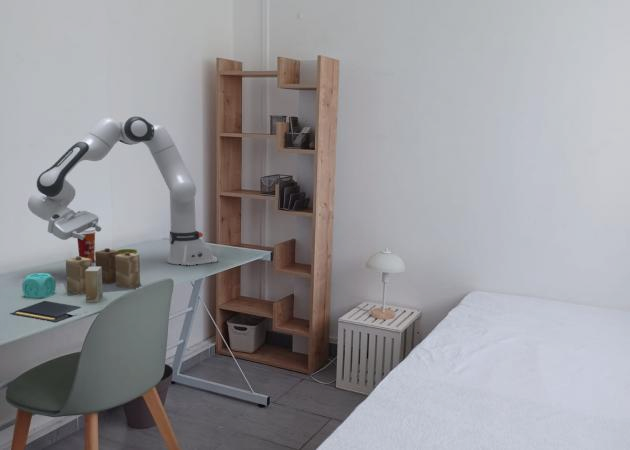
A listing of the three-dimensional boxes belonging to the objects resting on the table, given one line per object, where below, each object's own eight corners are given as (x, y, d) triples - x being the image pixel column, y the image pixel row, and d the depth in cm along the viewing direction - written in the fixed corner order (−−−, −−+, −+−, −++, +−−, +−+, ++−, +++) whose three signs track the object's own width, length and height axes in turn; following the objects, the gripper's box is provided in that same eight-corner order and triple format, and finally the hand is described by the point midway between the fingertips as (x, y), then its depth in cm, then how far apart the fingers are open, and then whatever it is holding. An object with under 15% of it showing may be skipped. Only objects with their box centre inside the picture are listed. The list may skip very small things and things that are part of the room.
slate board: (134, 278, 246) (134, 275, 246) (144, 290, 228) (144, 288, 228) (63, 284, 234) (62, 282, 233) (68, 298, 216) (68, 295, 216)
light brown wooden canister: (80, 288, 226) (79, 254, 224) (92, 290, 223) (91, 256, 221) (67, 291, 221) (65, 257, 218) (79, 294, 218) (77, 259, 215)
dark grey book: (89, 306, 204) (54, 319, 190) (89, 311, 204) (54, 325, 191) (44, 298, 212) (8, 310, 198) (45, 303, 212) (8, 315, 198)
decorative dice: (37, 293, 221) (36, 272, 220) (56, 295, 220) (55, 273, 218) (22, 299, 214) (21, 277, 212) (42, 301, 212) (41, 279, 211)
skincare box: (90, 299, 216) (89, 266, 214) (103, 299, 216) (102, 266, 214) (85, 304, 210) (84, 270, 208) (98, 304, 210) (97, 270, 208)
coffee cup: (90, 264, 266) (89, 231, 263) (73, 263, 267) (71, 230, 265) (100, 260, 274) (99, 228, 271) (84, 259, 275) (82, 226, 273)
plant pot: (128, 275, 250) (128, 254, 249) (109, 272, 254) (109, 252, 252) (142, 270, 259) (142, 250, 258) (124, 267, 262) (123, 248, 261)
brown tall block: (128, 282, 235) (127, 250, 233) (140, 284, 232) (139, 252, 230) (116, 286, 230) (115, 252, 228) (128, 288, 227) (127, 254, 225)
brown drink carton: (108, 278, 240) (107, 246, 238) (119, 280, 238) (119, 248, 235) (96, 281, 235) (95, 249, 233) (107, 284, 232) (106, 251, 230)
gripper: (80, 216, 252) (107, 231, 249) (44, 233, 234) (73, 249, 231) (83, 203, 249) (110, 218, 247) (46, 219, 231) (76, 235, 229)
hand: (92, 233), depth 239 cm, fingers open, 8 cm apart
